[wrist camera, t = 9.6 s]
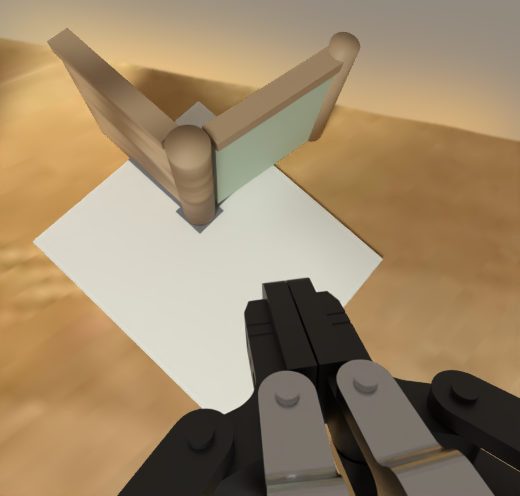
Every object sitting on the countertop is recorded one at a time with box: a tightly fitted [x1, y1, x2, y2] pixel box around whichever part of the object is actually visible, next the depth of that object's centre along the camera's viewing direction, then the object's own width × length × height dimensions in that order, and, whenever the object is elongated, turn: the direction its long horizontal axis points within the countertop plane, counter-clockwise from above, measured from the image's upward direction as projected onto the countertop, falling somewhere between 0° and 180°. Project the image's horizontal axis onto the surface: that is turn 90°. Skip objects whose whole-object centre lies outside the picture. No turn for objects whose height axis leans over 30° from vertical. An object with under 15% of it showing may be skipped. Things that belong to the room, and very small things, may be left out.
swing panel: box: [202, 32, 360, 203], centre depth 25 cm, size 11×2×9 cm, turn 129°
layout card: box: [33, 101, 383, 414], centre depth 28 cm, size 20×17×1 cm
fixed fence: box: [48, 28, 215, 226], centre depth 25 cm, size 12×2×10 cm, turn 48°
